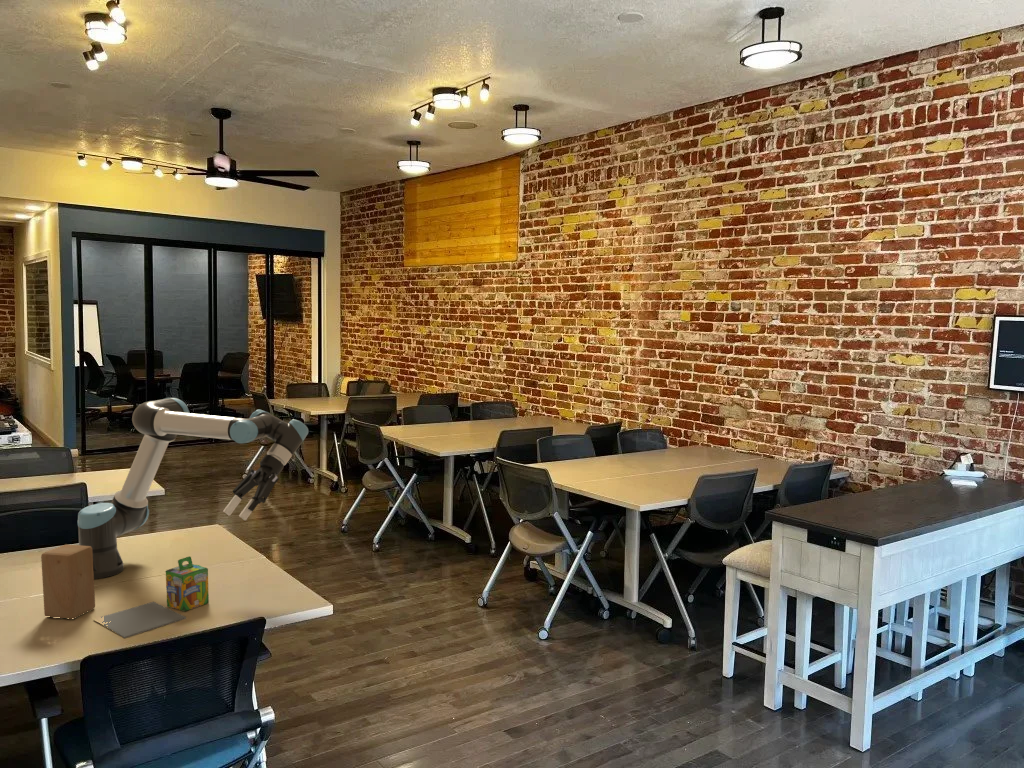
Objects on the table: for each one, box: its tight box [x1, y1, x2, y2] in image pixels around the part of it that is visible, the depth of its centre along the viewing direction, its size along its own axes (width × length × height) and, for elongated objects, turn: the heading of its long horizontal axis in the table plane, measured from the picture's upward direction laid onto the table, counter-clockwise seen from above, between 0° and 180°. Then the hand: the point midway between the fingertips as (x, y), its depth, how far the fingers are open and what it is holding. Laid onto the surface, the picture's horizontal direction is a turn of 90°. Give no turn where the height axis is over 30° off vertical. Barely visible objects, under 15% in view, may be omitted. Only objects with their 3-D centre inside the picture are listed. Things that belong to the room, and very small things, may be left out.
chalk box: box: [165, 556, 210, 612], centre depth 238 cm, size 9×9×15 cm
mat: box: [100, 601, 187, 639], centre depth 227 cm, size 20×18×1 cm
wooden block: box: [40, 543, 96, 619], centre depth 231 cm, size 10×10×20 cm
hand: (234, 515), depth 250 cm, fingers open, 9 cm apart
